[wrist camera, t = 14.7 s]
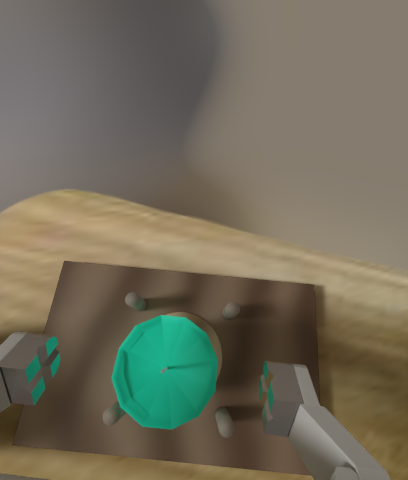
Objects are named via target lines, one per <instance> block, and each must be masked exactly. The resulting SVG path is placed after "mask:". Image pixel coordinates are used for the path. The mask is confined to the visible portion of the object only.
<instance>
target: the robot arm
mask: <svg viewBox="0 0 408 480" xmlns="http://www.w3.org/2000/svg"><path fill="white" fill-rule="evenodd" d="M57 344H58V342H57V338H56V337H54V336H47V335H40V334H33V333H25V332H14V333H12V334H11V335H10V336H9V337H8V338H7V339H6V340H5V341H4V342H3V343H2V344H1V345H0V413H1V412H2V411H3V410H5V409H6V408H7V407H9V406H10V405H11V403H12V404H23V405H35V404H36V402H37V401H38V399H39V398H40V396H41V395H42V393H43V392H44V390H45V382H47V381H49V380H50V379H52V378H53V376H54V375H55V373H56V372H57V369H58V366H59V364H60V352H59V351H58V350H57V349H56V348H55V347H56V346H57ZM263 372H264V374H263V375H262V376H261V378H260V382H259V398H260V403H261V405H262V406H263V411H262V422H263V429H264V434H270V435H276V436H283V437H288V440H289V441H290V443H291V444H292V446H293V447H294V449H295V450H296V452H297V454H298V455H299V457H300V458H301V460H302V461H303V463H304V464H305V466H306V467H307V469H308V471H309V472H310V474H311V475H312V477H313V478H314V480H391V479H390V477H389V475H388V473H387V471H386V470H385V469H384V468H383V467H382V466H381V465H380V464H379V463H378V462H377V461H376V460H375V459H374V458H373V457H372V456H371V455H370V454H369V452H368V451H367V450H366V449H365V448H364V447H363V446H362V445H361V444H360V443H359V442H358V441H357V440H356V439H355V438H354V437H353V436H352V435H351V434H350V433H349V432H348V431H347V430H346V429H345V427H344V426H343V425H342V424H341V423H340V422H339V421H338V420H337V419H336V418H335V417H334V416H333V415H332V414H331V413H330V412H329V411H328V410H327V409H326V408H325V407H324V406H320V404H319V401H318V398H317V395H316V392H315V389H314V386H313V383H312V380H311V378H310V375H309V372H308V369H307V367H306V366H305V365H300V364H291V363H282V362H272V361H265V362H264V366H263ZM0 480H48V479H40V478H32V477H25V476H17V475H9V474H1V473H0Z"/></svg>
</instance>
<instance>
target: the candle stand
mask: <svg viewBox="0 0 408 480" xmlns="http://www.w3.org/2000/svg"><path fill="white" fill-rule="evenodd" d="M160 315H166V316H176V317H186V318H187V319H189V320H190V321H191V322H193V323H194V324H195V325H196V326H198V327H199V328H200V329H202V330H203V331H204V332H206V333H207V335H208V337H209V340H210V342H211V345H212V347H213V349H214V352H215V354H216V357H217V359H218V365H217V379H216V391H215V393H214V394H213V396H212V397H211V399H210V400H209V402H208V403H207V405H206V406H205V408H204V409H203V411H202V412H201V414H200V415H199V417H197V418H194V419H192V420H190V421H188V422H186V423H184V424H182V425H180V426H178V427H176V428H174V429H172V430H171V429H161V428H150V427H142V426H141V425H140V424H139V423H138V422H137V421H136V420H134V419H133V418H132V417H131V416H130V415H129V414H128V413H127V412H125V411H124V410H123V409H122V408H121V407H120V404H119V401H118V398H117V394H116V391H115V388H114V385H113V382H112V379H111V378H112V374H113V370H114V366H115V362H116V358H117V354H118V350H119V347H120V346H121V345H122V343H123V342H124V341H125V339H126V338H127V336H128V335H129V334H130V332H131V331H132V330H133V328H134V327H135V326H136V325H138V324H140V323H143V322H145V321H148V320H150V319H153V318H155V317H157V316H160ZM43 335H47V336H54V337H56V338H57V342H58V344H57V346H56V347H55V348H56V349H57V350H58V351H59V352H60V364H59V366H58V369H57V372H56V373H55V375H54V376H53V378H52V379H50V380H49V381H47V382H45V390H44V392H43V393H42V395H41V396H40V398H39V399H38V401H37V402H36V404H35V405H23V408H22V412H21V415H20V419H19V422H18V426H17V429H16V433H15V436H14V440H13V444H12V445H17V446H27V447H36V448H46V449H56V450H66V451H76V452H85V453H95V454H105V455H115V456H125V457H134V458H144V459H154V460H164V461H174V462H183V463H193V464H203V465H213V466H223V467H232V468H242V469H252V470H262V471H272V472H281V473H291V474H301V475H311V474H310V472H309V471H308V469H307V467H306V466H305V464H304V463H303V461H302V460H301V458H300V457H299V455H298V454H297V452H296V450H295V449H294V447H293V446H292V444H291V443H290V441H289V440H288V437H283V436H276V435H270V434H264V429H263V422H262V411H263V406H262V405H261V403H260V398H259V382H260V378H261V376H262V375H263V374H264V372H263V366H264V362H265V361H272V362H282V363H291V364H300V365H305V366H306V367H307V369H308V372H309V375H310V378H311V380H312V383H313V386H314V389H315V392H316V395H317V398H318V401H319V404H320V390H319V371H318V351H317V331H316V312H315V292H314V285H311V284H300V283H290V282H279V281H269V280H258V279H248V278H238V277H227V276H217V275H206V274H196V273H185V272H175V271H165V270H154V269H144V268H133V267H123V266H112V265H102V264H92V263H81V262H71V261H64V263H63V267H62V270H61V274H60V278H59V281H58V285H57V288H56V292H55V295H54V299H53V302H52V306H51V309H50V313H49V316H48V320H47V323H46V327H45V331H44V334H43ZM311 476H312V475H311Z"/></svg>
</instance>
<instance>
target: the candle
mask: <svg viewBox="0 0 408 480" xmlns="http://www.w3.org/2000/svg"><path fill="white" fill-rule="evenodd" d="M217 365H218V359H217V357H216V354H215V352H214V349H213V347H212V345H211V342H210V340H209V337H208V335H207V333H206V332H204V331H203V330H202V329H200V328H199V327H198V326H196V325H195V324H194V323H193V322H191V321H190V320H189V319H187V318H186V317H176V316H166V315H160V316H157V317H155V318H153V319H150V320H148V321H145V322H143V323H140V324H138V325H136V326H135V327H134V328H133V330H132V331H131V332H130V334H129V335H128V336H127V338H126V339H125V341H124V342H123V343H122V345H121V346H120V347H119V350H118V354H117V358H116V362H115V366H114V370H113V374H112V378H111V379H112V382H113V385H114V388H115V391H116V394H117V398H118V401H119V404H120V407H121V408H122V409H123V410H124V411H125V412H127V413H128V414H129V415H130V416H131V417H132V418H133V419H134V420H136V421H137V422H138V423H139V424H140V425H141V426H142V427H150V428H161V429H171V430H172V429H174V428H176V427H178V426H180V425H182V424H184V423H186V422H188V421H190V420H192V419H194V418H197V417H199V415H200V414H201V412H202V411H203V409H204V408H205V406H206V405H207V403H208V402H209V400H210V399H211V397H212V396H213V394H214V393H215V391H216V379H217Z"/></svg>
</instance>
